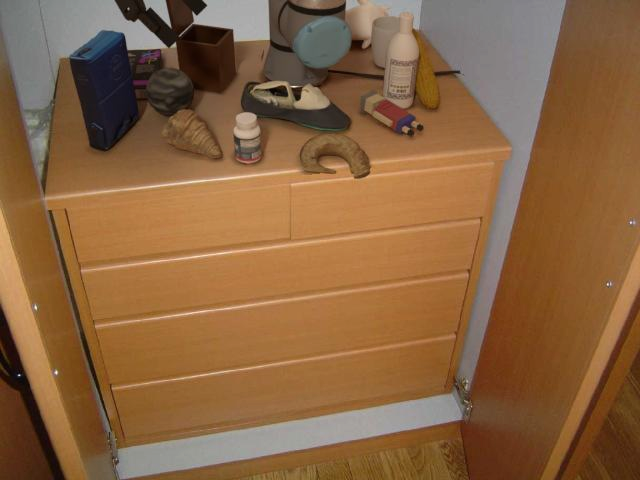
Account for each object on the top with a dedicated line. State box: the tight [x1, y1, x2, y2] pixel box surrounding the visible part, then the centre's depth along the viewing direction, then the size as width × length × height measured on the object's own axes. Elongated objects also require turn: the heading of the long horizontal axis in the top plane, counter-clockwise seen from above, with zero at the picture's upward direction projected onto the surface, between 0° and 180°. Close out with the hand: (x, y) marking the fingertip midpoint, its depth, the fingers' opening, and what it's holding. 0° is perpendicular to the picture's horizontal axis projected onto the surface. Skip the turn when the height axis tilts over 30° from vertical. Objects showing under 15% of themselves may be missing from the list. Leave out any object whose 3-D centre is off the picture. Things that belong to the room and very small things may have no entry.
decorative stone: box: [146, 67, 196, 117], centre depth 140 cm, size 10×10×10 cm
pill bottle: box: [232, 111, 263, 164], centre depth 128 cm, size 5×5×9 cm
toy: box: [359, 89, 425, 137], centre depth 141 cm, size 6×4×15 cm
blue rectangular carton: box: [68, 29, 140, 152], centre depth 129 cm, size 14×5×20 cm, turn 164°
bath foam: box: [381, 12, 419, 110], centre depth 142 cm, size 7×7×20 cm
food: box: [412, 27, 441, 110], centre depth 148 cm, size 21×6×6 cm
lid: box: [165, 0, 195, 37], centre depth 144 cm, size 11×9×1 cm
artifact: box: [299, 132, 372, 180], centre depth 129 cm, size 12×3×15 cm
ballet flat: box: [240, 81, 352, 132], centre depth 139 cm, size 8×24×8 cm, turn 72°
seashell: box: [160, 109, 222, 159], centre depth 131 cm, size 14×8×8 cm
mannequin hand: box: [345, 0, 391, 50], centre depth 169 cm, size 12×18×12 cm
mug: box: [370, 15, 399, 69], centre depth 158 cm, size 13×9×10 cm
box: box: [127, 48, 163, 100], centre depth 153 cm, size 14×4×20 cm
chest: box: [175, 23, 237, 94], centre depth 150 cm, size 10×9×11 cm
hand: (189, 26), depth 115 cm, fingers open, 13 cm apart
